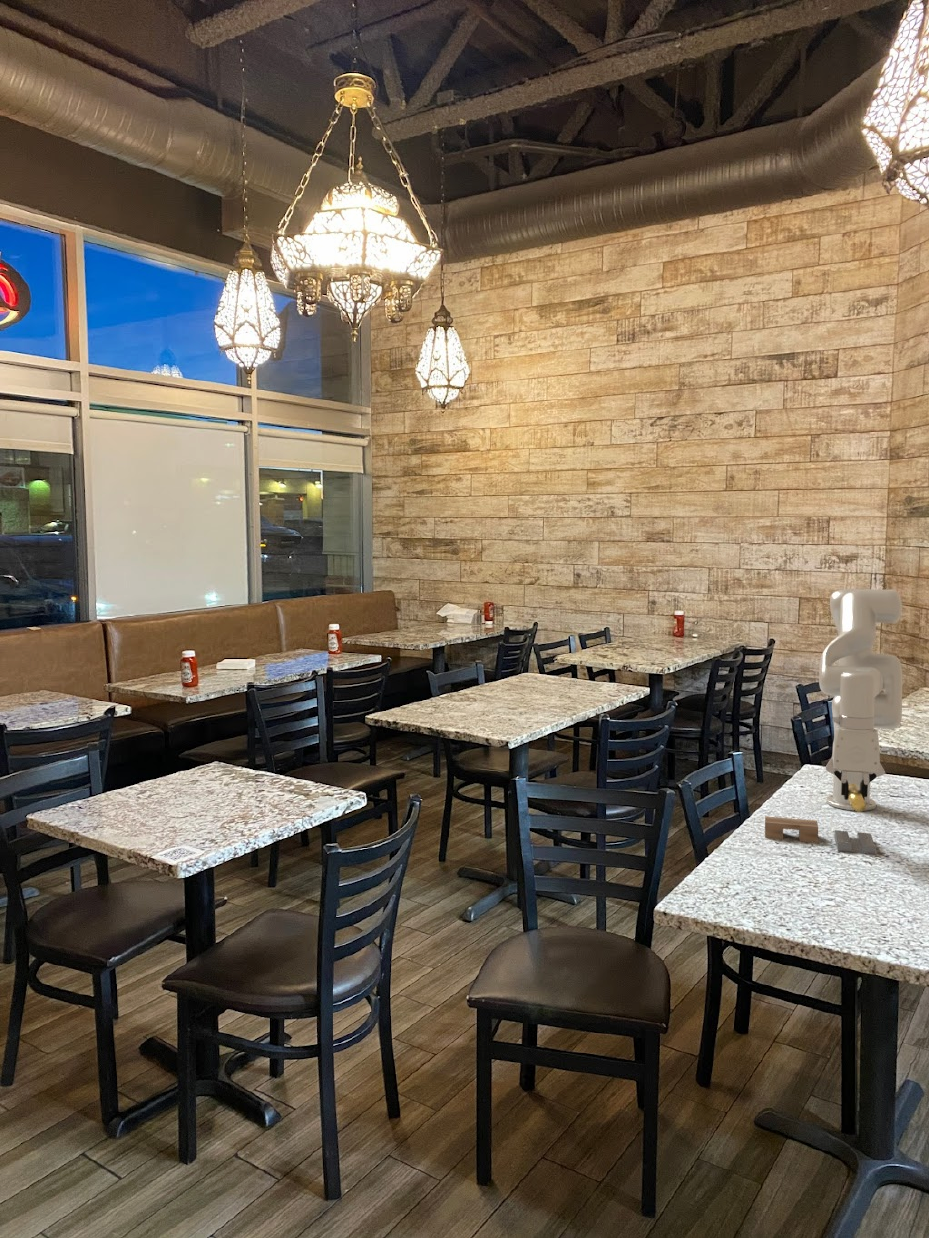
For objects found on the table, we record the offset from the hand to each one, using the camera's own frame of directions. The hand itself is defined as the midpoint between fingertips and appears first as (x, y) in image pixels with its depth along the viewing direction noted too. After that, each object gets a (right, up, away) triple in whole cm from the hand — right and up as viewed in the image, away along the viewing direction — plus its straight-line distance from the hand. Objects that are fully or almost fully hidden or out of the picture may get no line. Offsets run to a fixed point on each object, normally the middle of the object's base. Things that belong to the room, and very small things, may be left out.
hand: (854, 798), depth 210 cm
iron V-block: (-1, -12, -2) cm, 12 cm away
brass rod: (-1, +1, -3) cm, 3 cm away
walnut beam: (-13, -12, +5) cm, 18 cm away
